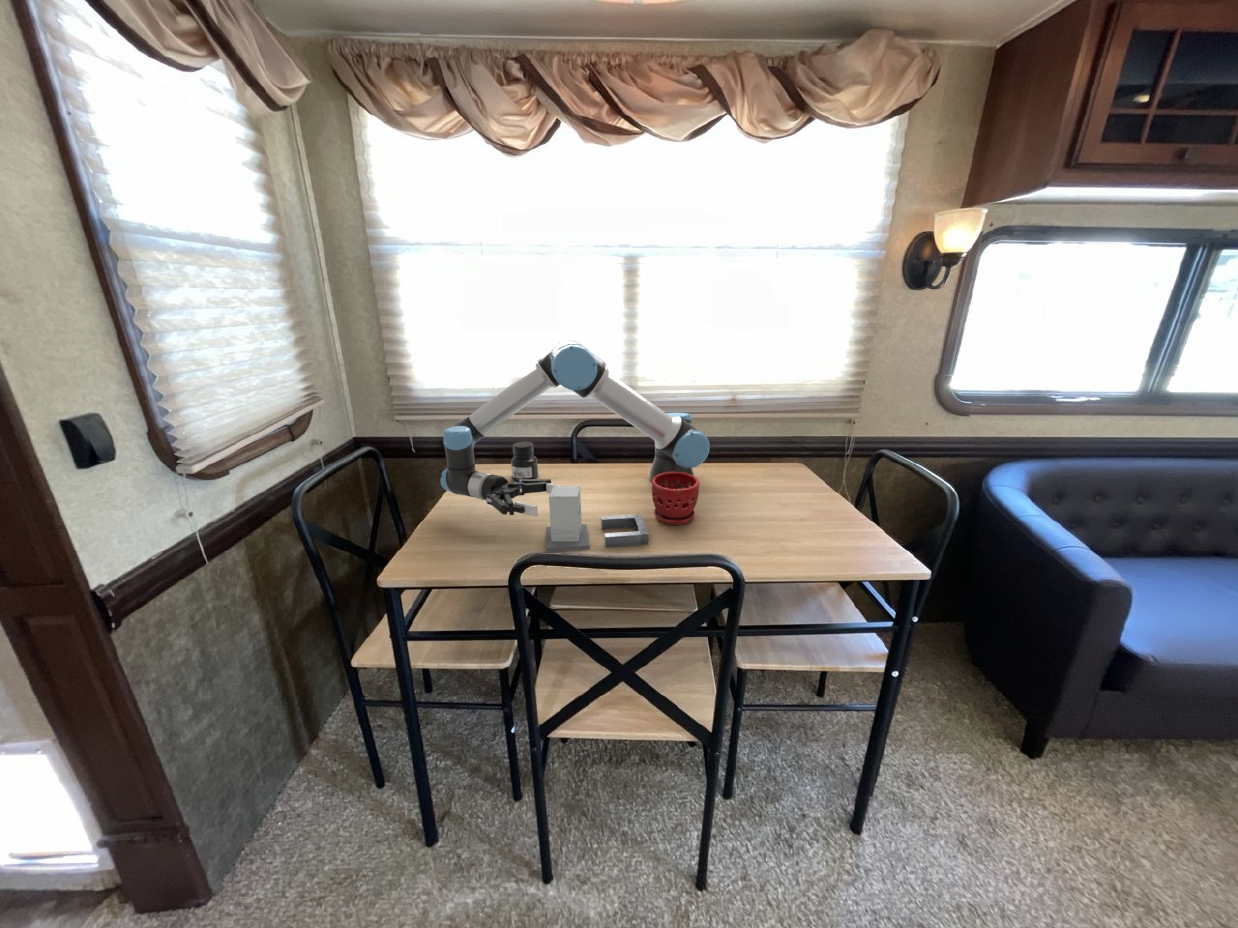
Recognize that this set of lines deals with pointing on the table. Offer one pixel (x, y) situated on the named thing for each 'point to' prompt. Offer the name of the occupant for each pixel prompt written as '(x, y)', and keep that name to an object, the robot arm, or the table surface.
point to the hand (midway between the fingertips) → (552, 501)
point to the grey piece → (624, 537)
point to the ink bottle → (524, 461)
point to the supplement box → (565, 513)
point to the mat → (563, 546)
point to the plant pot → (675, 497)
